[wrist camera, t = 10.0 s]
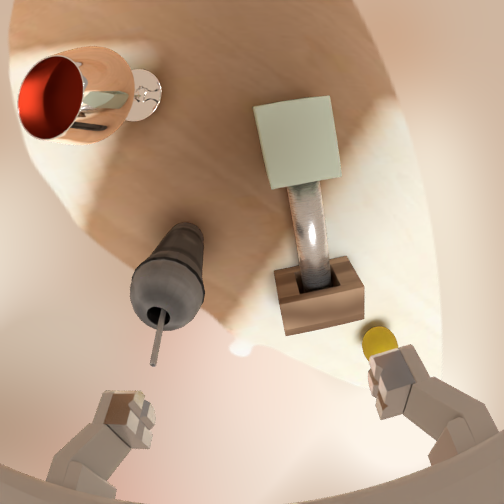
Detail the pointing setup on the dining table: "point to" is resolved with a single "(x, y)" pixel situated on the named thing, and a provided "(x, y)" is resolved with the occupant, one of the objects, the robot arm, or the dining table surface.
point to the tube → (310, 235)
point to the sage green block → (298, 141)
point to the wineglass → (84, 96)
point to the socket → (320, 299)
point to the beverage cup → (170, 283)
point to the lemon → (378, 341)
